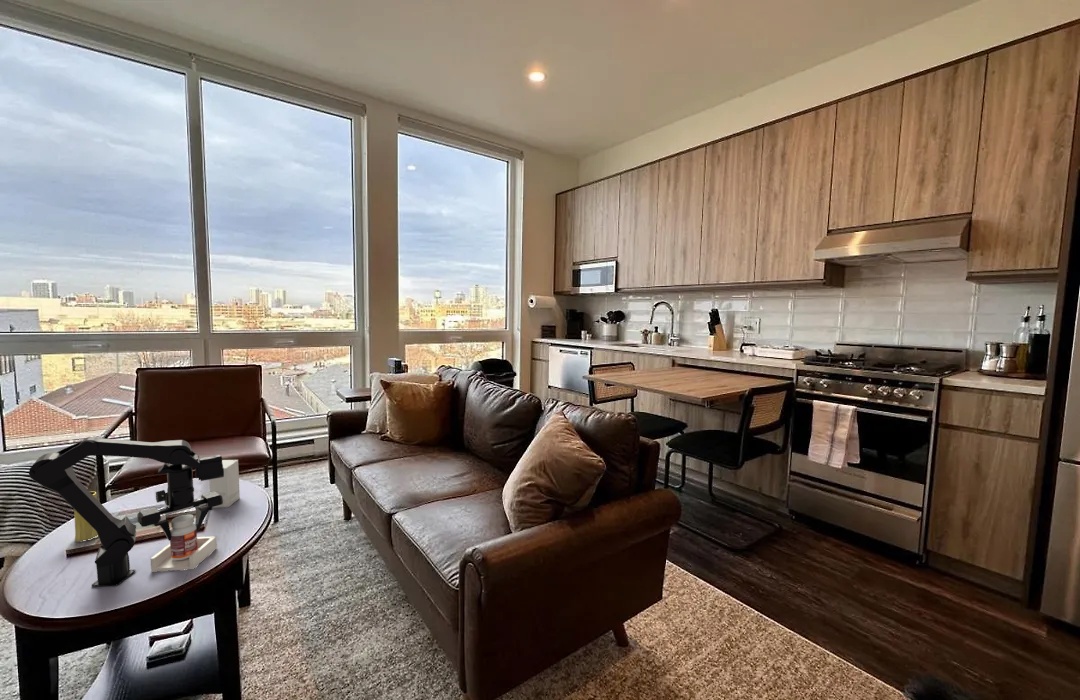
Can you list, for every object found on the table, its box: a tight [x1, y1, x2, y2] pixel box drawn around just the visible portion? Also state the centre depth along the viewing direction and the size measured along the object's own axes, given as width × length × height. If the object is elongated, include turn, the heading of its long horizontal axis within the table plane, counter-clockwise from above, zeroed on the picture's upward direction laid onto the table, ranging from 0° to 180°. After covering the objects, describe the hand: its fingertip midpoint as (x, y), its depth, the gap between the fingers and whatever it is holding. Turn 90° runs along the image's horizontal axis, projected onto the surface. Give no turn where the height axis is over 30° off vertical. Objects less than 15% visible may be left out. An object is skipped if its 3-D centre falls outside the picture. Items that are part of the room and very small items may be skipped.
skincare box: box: [208, 459, 241, 509], centre depth 166 cm, size 8×7×16 cm
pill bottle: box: [169, 513, 198, 560], centre depth 129 cm, size 6×6×11 cm
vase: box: [73, 490, 98, 542], centre depth 140 cm, size 6×6×14 cm
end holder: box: [149, 535, 218, 573], centre depth 130 cm, size 11×11×4 cm
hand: (183, 535), depth 129 cm, fingers closed on pill bottle, 6 cm apart
